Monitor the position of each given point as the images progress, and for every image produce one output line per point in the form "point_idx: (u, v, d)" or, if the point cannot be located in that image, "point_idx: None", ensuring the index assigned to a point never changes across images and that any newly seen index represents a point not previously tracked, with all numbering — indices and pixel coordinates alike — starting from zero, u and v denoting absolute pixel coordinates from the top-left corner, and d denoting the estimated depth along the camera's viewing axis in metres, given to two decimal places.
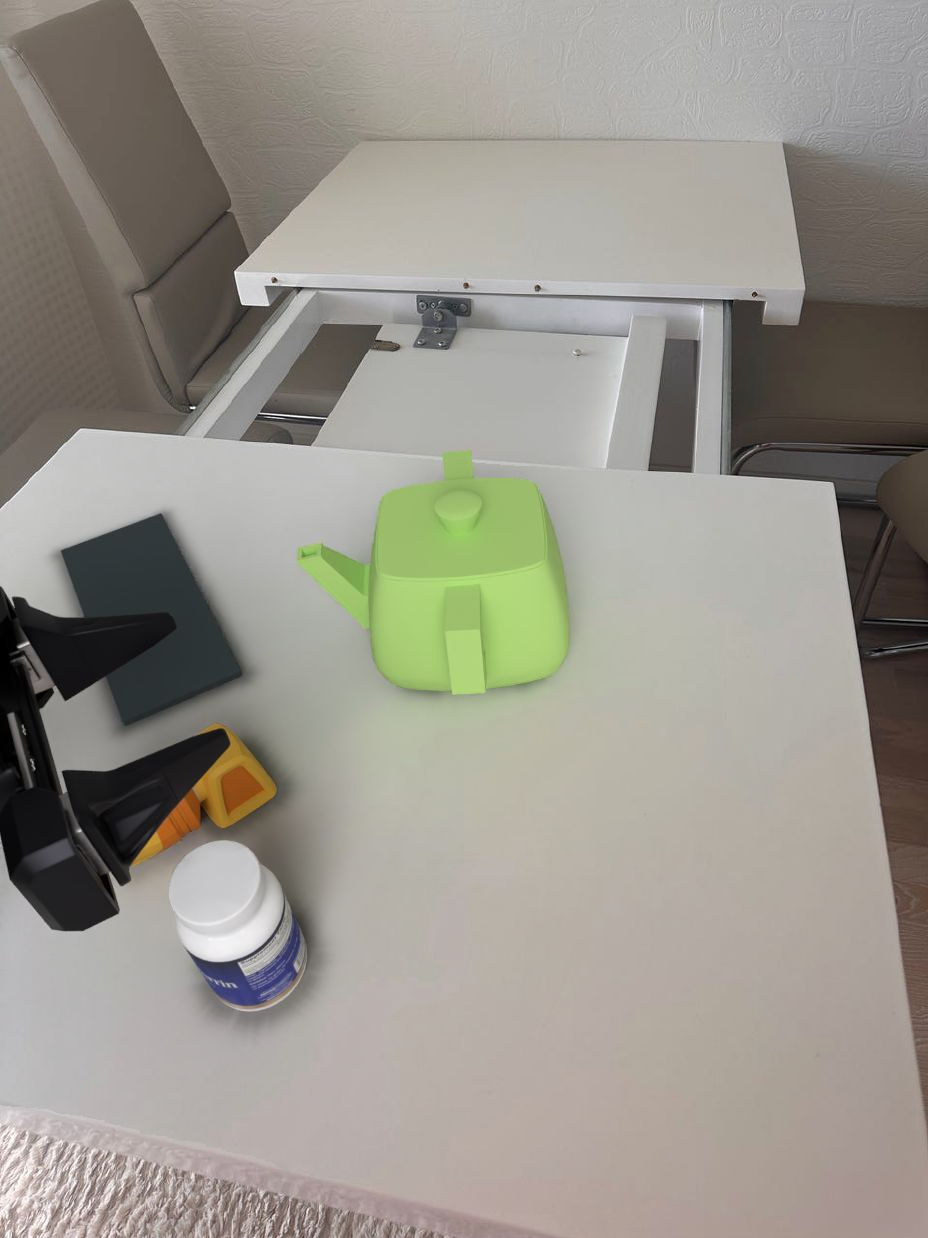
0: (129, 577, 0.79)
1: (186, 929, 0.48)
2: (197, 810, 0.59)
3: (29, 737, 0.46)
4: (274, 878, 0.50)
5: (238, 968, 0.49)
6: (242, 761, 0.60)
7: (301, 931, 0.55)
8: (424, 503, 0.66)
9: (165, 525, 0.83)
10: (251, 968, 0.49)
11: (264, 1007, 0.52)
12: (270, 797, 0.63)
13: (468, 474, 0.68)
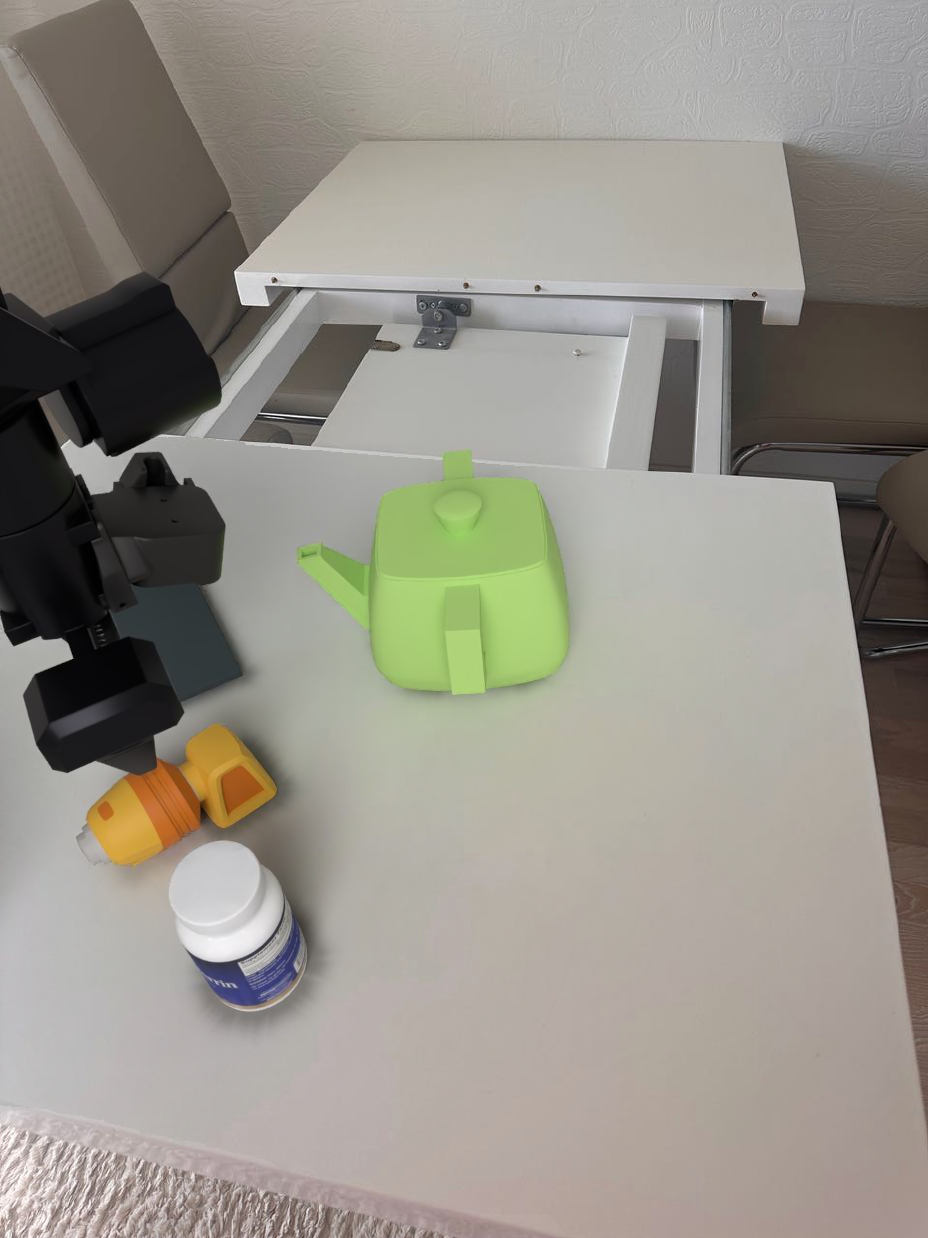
0: None
1: (186, 929, 0.48)
2: (197, 810, 0.59)
3: None
4: (274, 878, 0.50)
5: (238, 968, 0.49)
6: (242, 761, 0.60)
7: (301, 931, 0.55)
8: (424, 503, 0.66)
9: None
10: (251, 968, 0.49)
11: (264, 1007, 0.52)
12: (270, 797, 0.63)
13: (468, 474, 0.68)
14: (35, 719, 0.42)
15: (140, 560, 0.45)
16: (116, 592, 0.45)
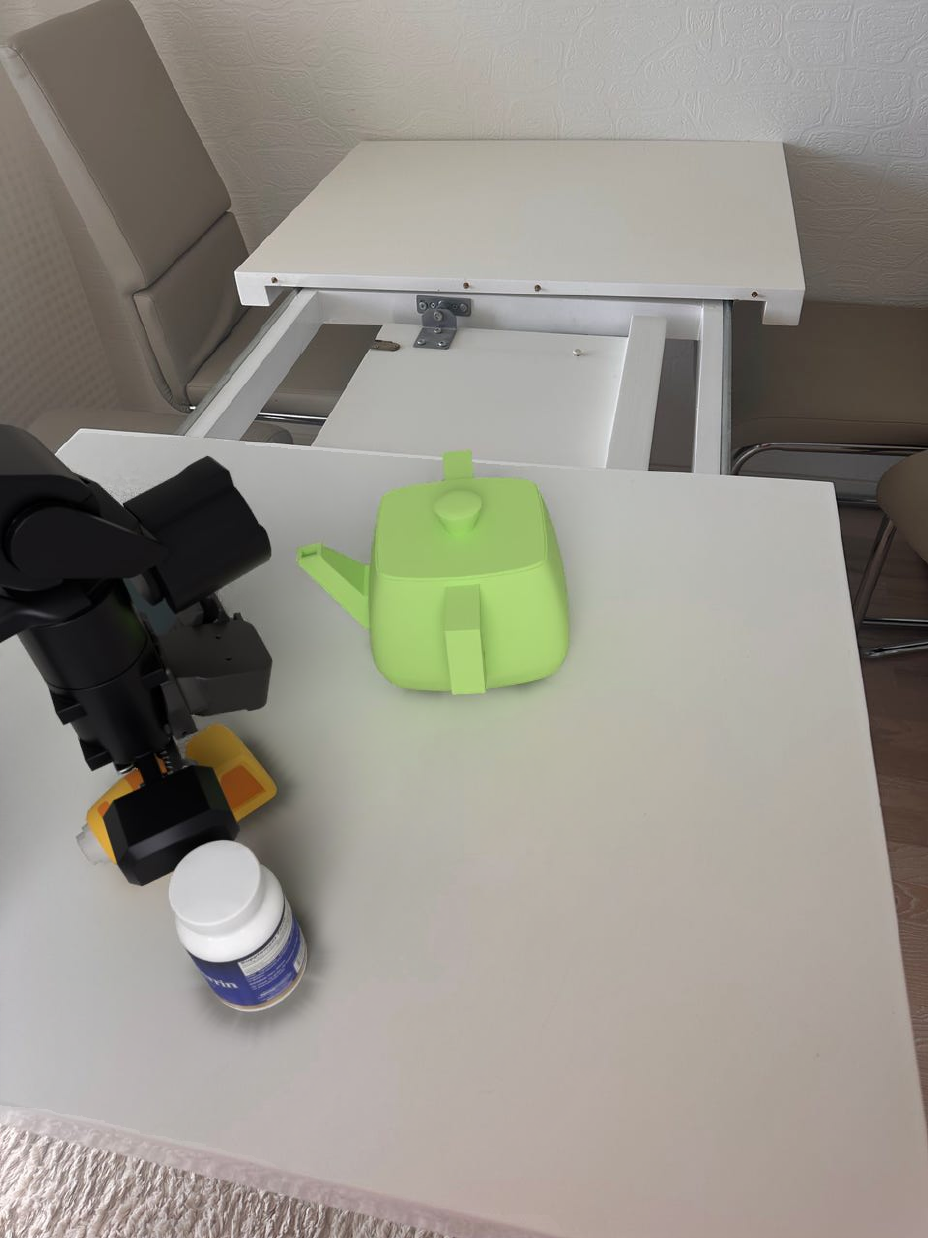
0: None
1: (186, 929, 0.48)
2: None
3: None
4: (274, 878, 0.50)
5: (238, 968, 0.49)
6: (242, 761, 0.60)
7: (301, 931, 0.55)
8: (424, 503, 0.66)
9: None
10: (251, 968, 0.49)
11: (264, 1007, 0.52)
12: (270, 797, 0.63)
13: (468, 474, 0.68)
14: (115, 841, 0.49)
15: (200, 696, 0.53)
16: (180, 723, 0.53)
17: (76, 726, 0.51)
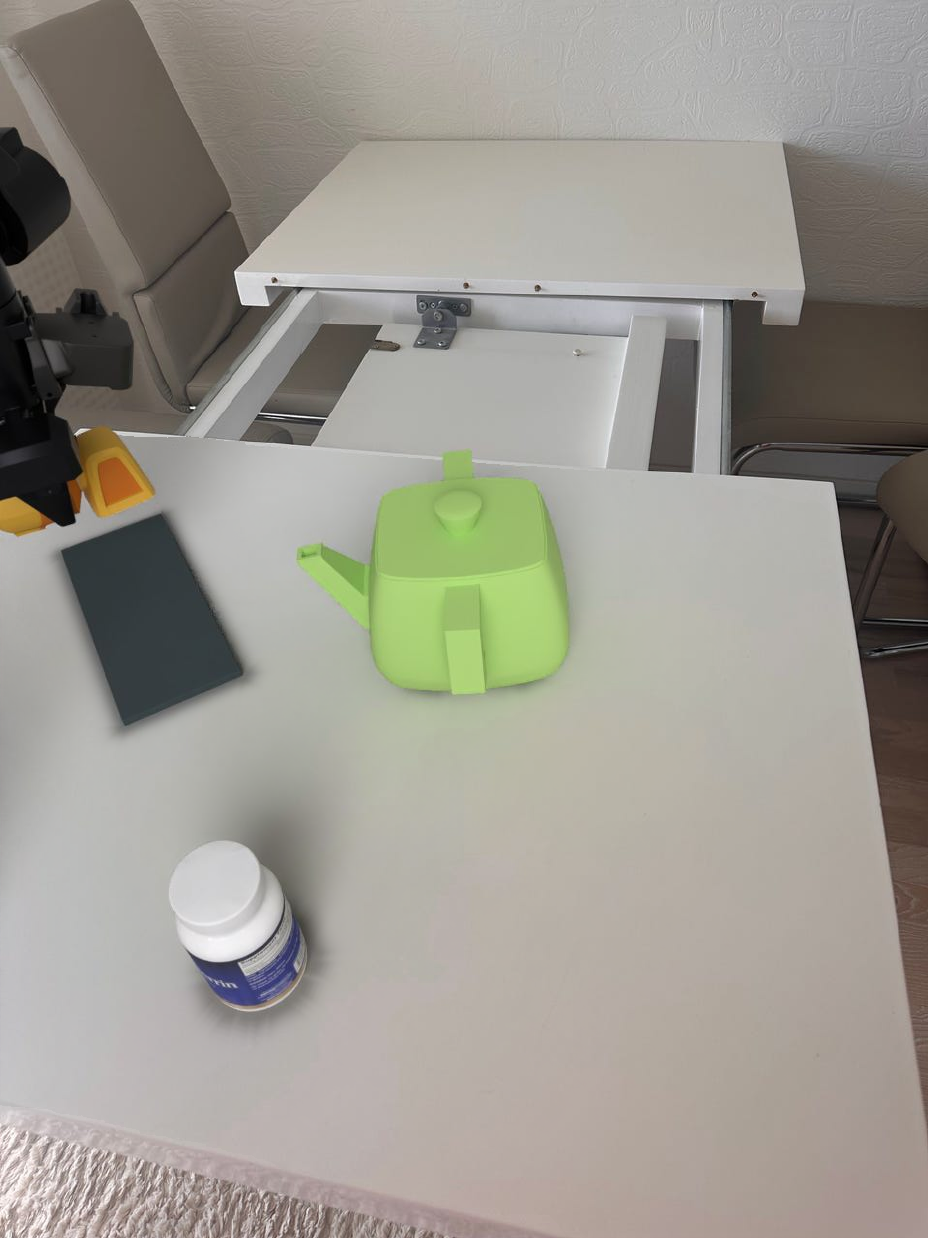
0: (129, 577, 0.79)
1: (186, 929, 0.48)
2: (75, 490, 0.67)
3: None
4: (274, 878, 0.50)
5: (238, 968, 0.49)
6: (118, 452, 0.68)
7: (301, 931, 0.55)
8: (424, 503, 0.66)
9: (165, 525, 0.83)
10: (251, 968, 0.49)
11: (264, 1007, 0.52)
12: (147, 498, 0.70)
13: (468, 474, 0.68)
14: None
15: (63, 360, 0.60)
16: (44, 383, 0.60)
17: None
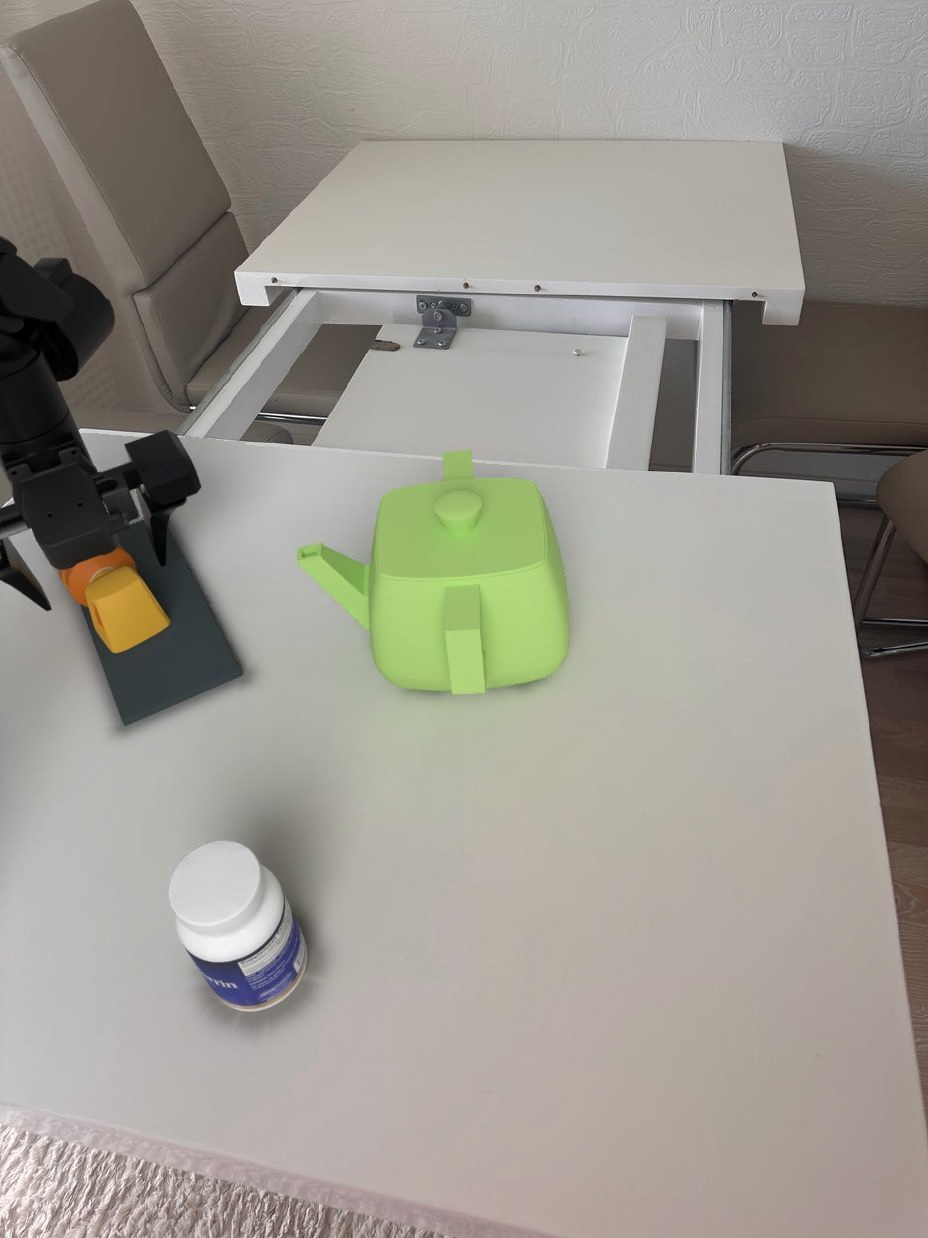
0: None
1: (186, 929, 0.48)
2: (80, 593, 0.74)
3: None
4: (274, 878, 0.50)
5: (238, 968, 0.49)
6: (94, 604, 0.70)
7: (301, 931, 0.55)
8: (424, 503, 0.66)
9: None
10: (251, 968, 0.49)
11: (264, 1007, 0.52)
12: (110, 649, 0.73)
13: (468, 474, 0.68)
14: None
15: (23, 509, 0.64)
16: None
17: None
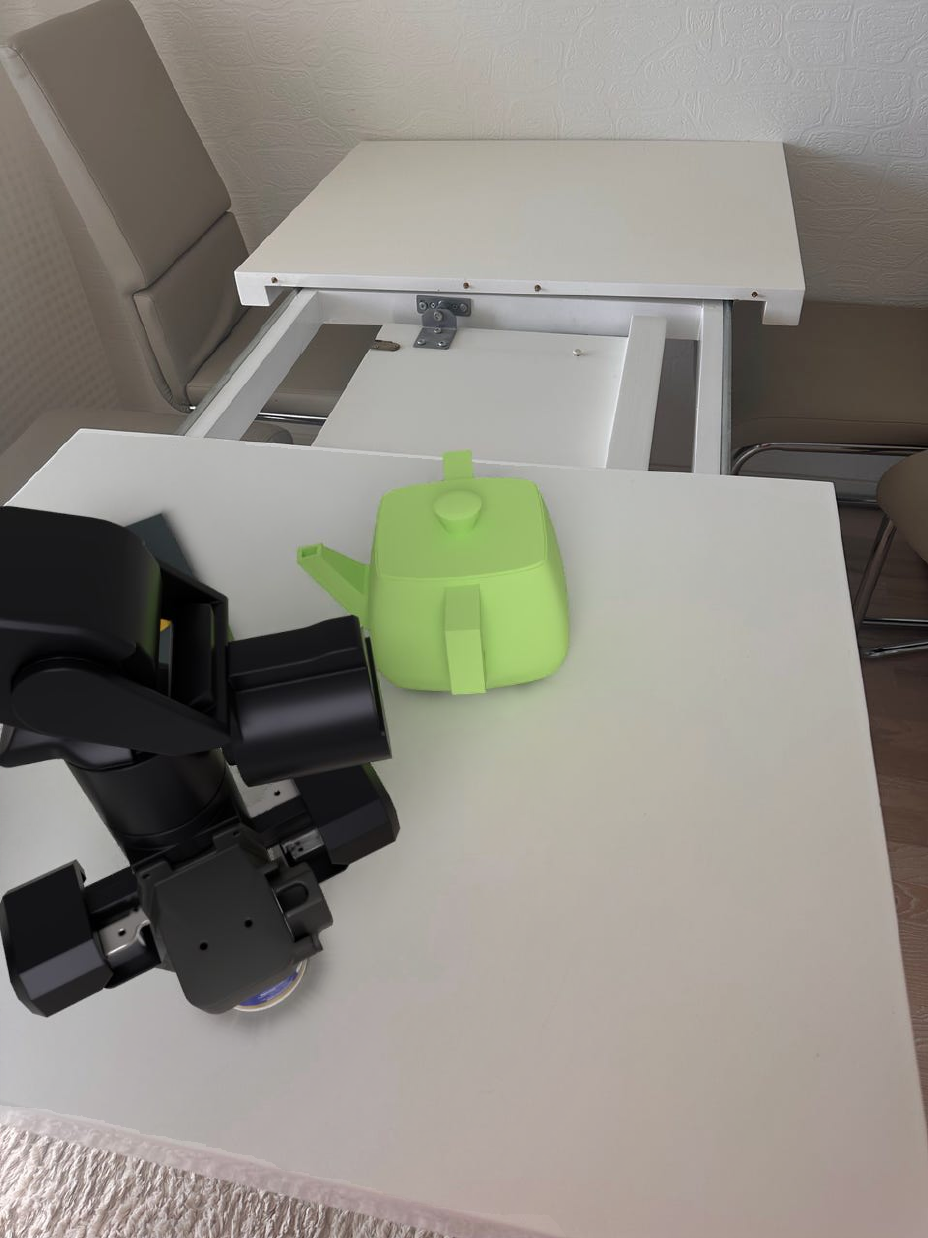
0: None
1: None
2: None
3: None
4: None
5: None
6: None
7: None
8: (424, 503, 0.66)
9: (165, 525, 0.83)
10: None
11: (264, 1007, 0.52)
12: None
13: (468, 474, 0.68)
14: (30, 881, 0.45)
15: (157, 924, 0.41)
16: None
17: None
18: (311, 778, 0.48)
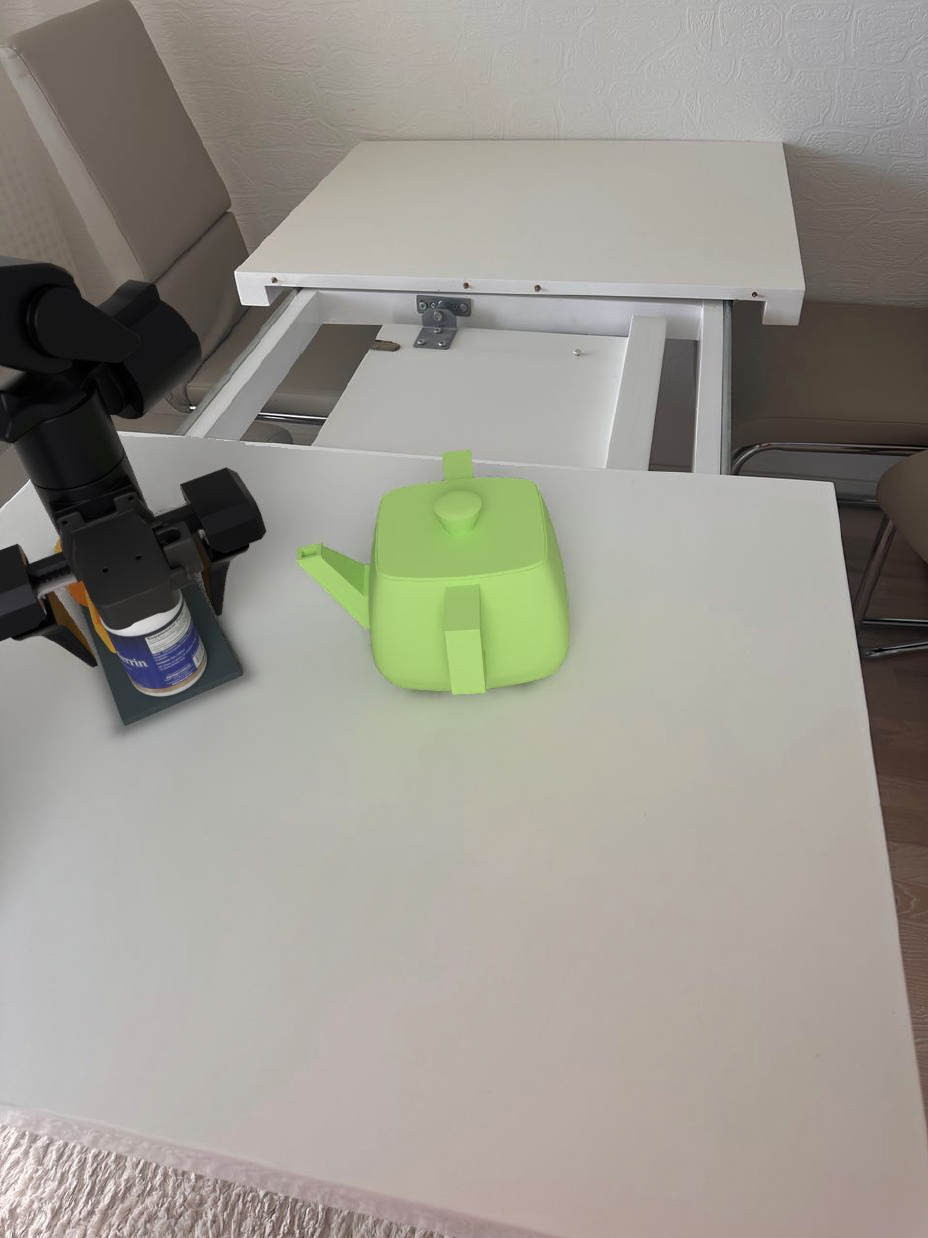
0: None
1: None
2: (80, 593, 0.74)
3: None
4: None
5: (146, 644, 0.65)
6: None
7: (202, 644, 0.71)
8: (424, 503, 0.66)
9: None
10: (156, 646, 0.65)
11: (171, 692, 0.69)
12: (110, 649, 0.73)
13: (468, 474, 0.68)
14: None
15: (73, 562, 0.57)
16: None
17: None
18: (198, 490, 0.64)
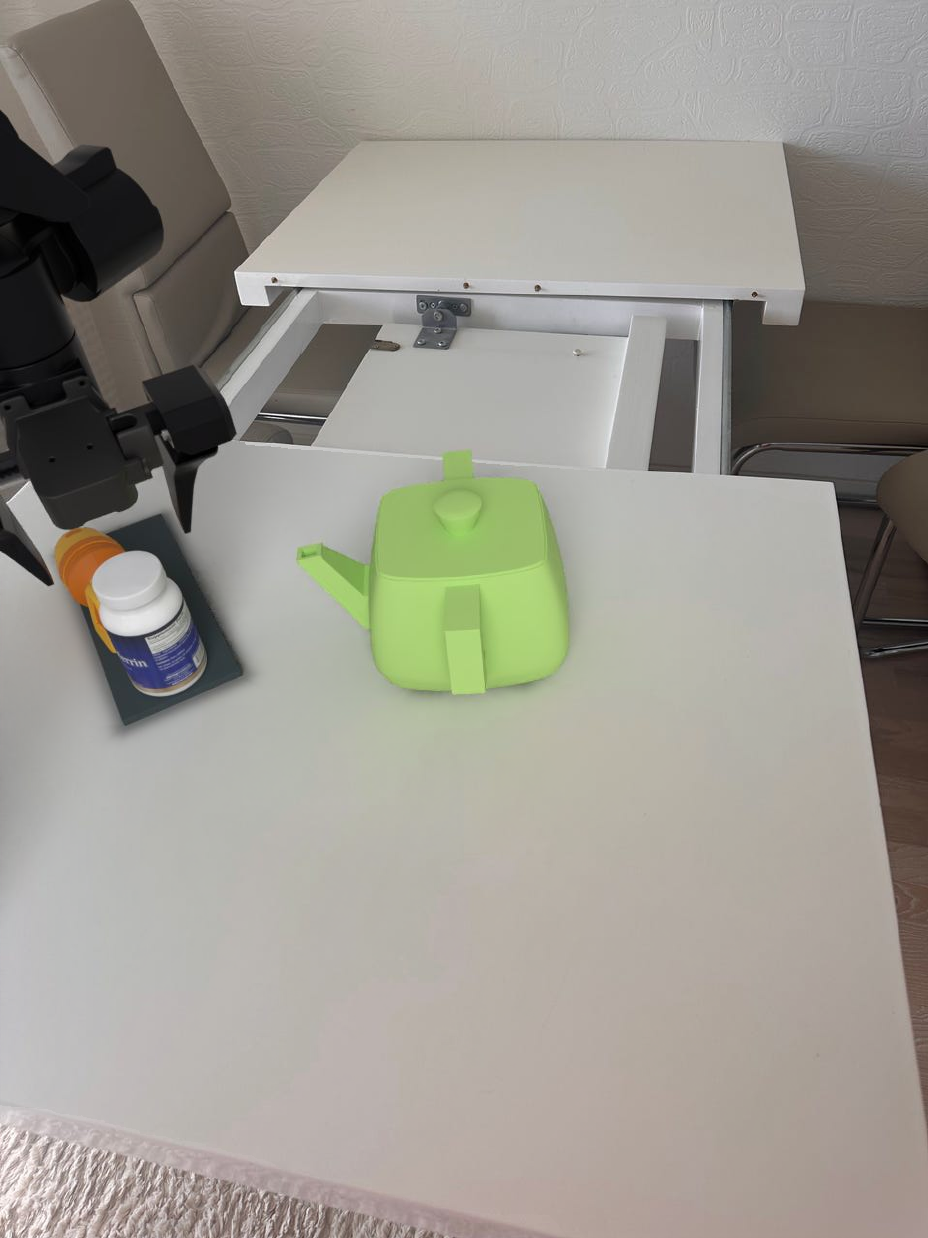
0: None
1: (106, 613, 0.64)
2: (80, 593, 0.74)
3: None
4: (175, 584, 0.66)
5: (146, 644, 0.65)
6: (94, 604, 0.70)
7: (202, 644, 0.71)
8: (424, 503, 0.66)
9: (165, 525, 0.83)
10: (156, 646, 0.65)
11: (171, 692, 0.69)
12: (110, 649, 0.73)
13: (468, 474, 0.68)
14: None
15: (18, 453, 0.51)
16: None
17: None
18: (161, 387, 0.58)
